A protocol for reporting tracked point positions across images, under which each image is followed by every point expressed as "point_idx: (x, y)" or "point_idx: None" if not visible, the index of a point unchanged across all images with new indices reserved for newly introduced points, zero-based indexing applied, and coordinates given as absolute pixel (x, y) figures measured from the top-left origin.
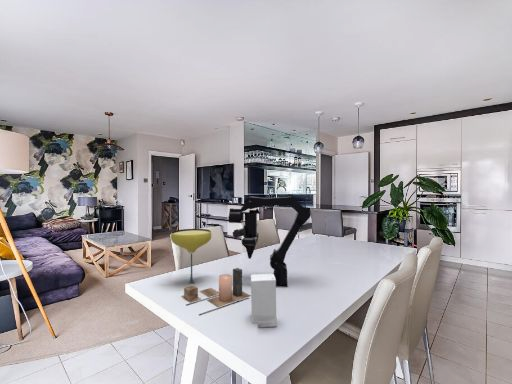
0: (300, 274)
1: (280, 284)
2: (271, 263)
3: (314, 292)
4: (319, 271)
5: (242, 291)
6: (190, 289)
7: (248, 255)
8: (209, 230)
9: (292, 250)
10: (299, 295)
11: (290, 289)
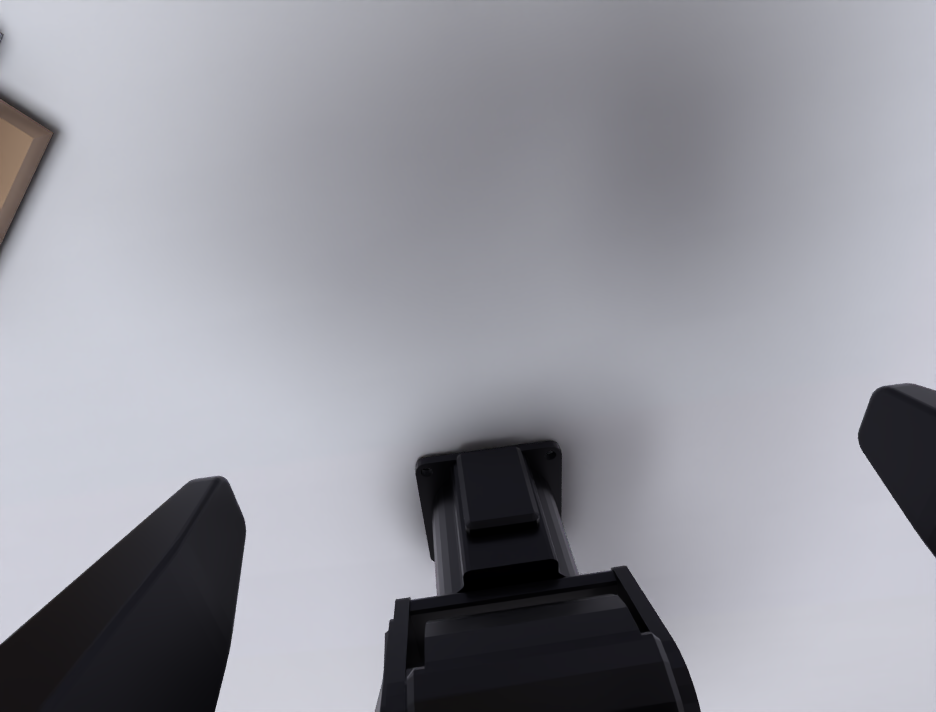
0: (756, 592)
1: (431, 522)
2: (411, 696)
3: (369, 690)
4: (809, 677)
5: (1, 198)
6: None
7: (106, 583)
8: None
9: None
10: (277, 633)
11: (383, 575)
